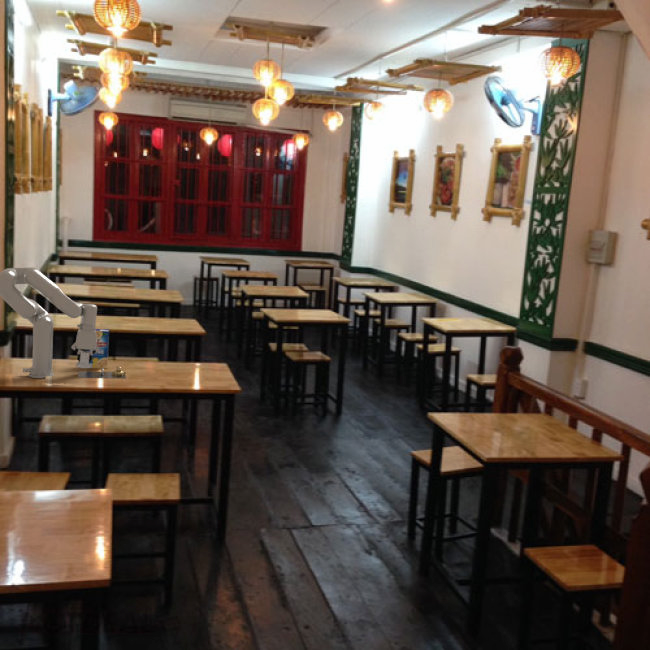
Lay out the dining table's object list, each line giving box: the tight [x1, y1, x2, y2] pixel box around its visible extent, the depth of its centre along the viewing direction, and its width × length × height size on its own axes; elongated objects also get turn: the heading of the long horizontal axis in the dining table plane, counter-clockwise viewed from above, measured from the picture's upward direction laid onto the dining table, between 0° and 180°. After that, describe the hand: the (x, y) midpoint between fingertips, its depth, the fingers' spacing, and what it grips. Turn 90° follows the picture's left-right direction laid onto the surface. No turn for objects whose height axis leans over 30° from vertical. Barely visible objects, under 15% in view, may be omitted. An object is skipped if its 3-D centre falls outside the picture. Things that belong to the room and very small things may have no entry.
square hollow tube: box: [75, 350, 93, 369], centre depth 404 cm, size 8×8×8 cm
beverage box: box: [86, 328, 110, 370], centre depth 426 cm, size 7×11×22 cm, turn 104°
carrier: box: [77, 366, 127, 380], centre depth 408 cm, size 24×16×6 cm, turn 108°
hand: (84, 361), depth 404 cm, fingers closed on square hollow tube, 4 cm apart
